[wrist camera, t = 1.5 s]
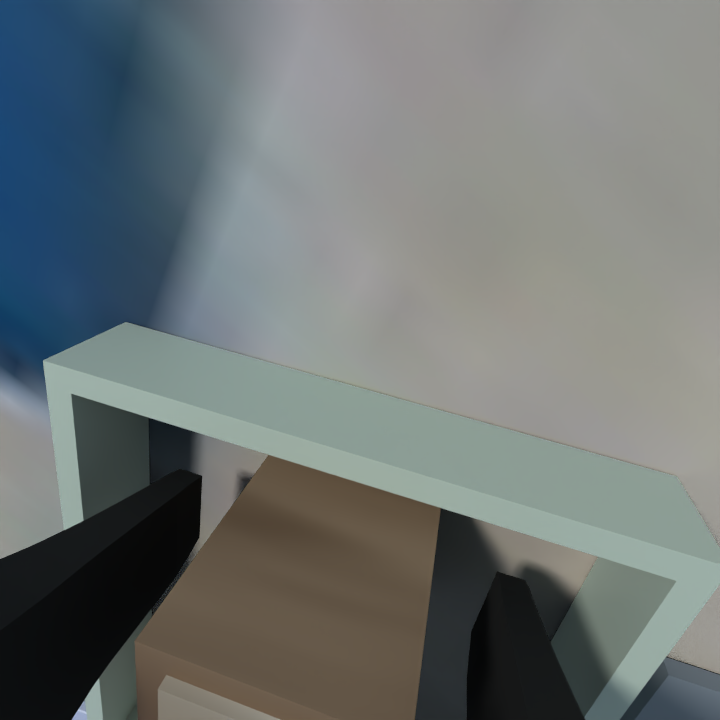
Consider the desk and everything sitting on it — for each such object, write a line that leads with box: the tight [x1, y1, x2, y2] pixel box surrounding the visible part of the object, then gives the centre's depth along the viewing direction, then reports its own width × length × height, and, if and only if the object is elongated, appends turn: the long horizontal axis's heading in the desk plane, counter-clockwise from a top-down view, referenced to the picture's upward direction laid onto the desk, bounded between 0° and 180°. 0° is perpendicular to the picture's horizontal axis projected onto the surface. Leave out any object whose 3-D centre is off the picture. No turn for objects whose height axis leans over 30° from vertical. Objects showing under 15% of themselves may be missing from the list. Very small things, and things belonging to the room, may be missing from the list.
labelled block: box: [135, 455, 441, 720], centre depth 10 cm, size 4×4×6 cm
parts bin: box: [43, 322, 720, 720], centre depth 13 cm, size 15×13×2 cm
